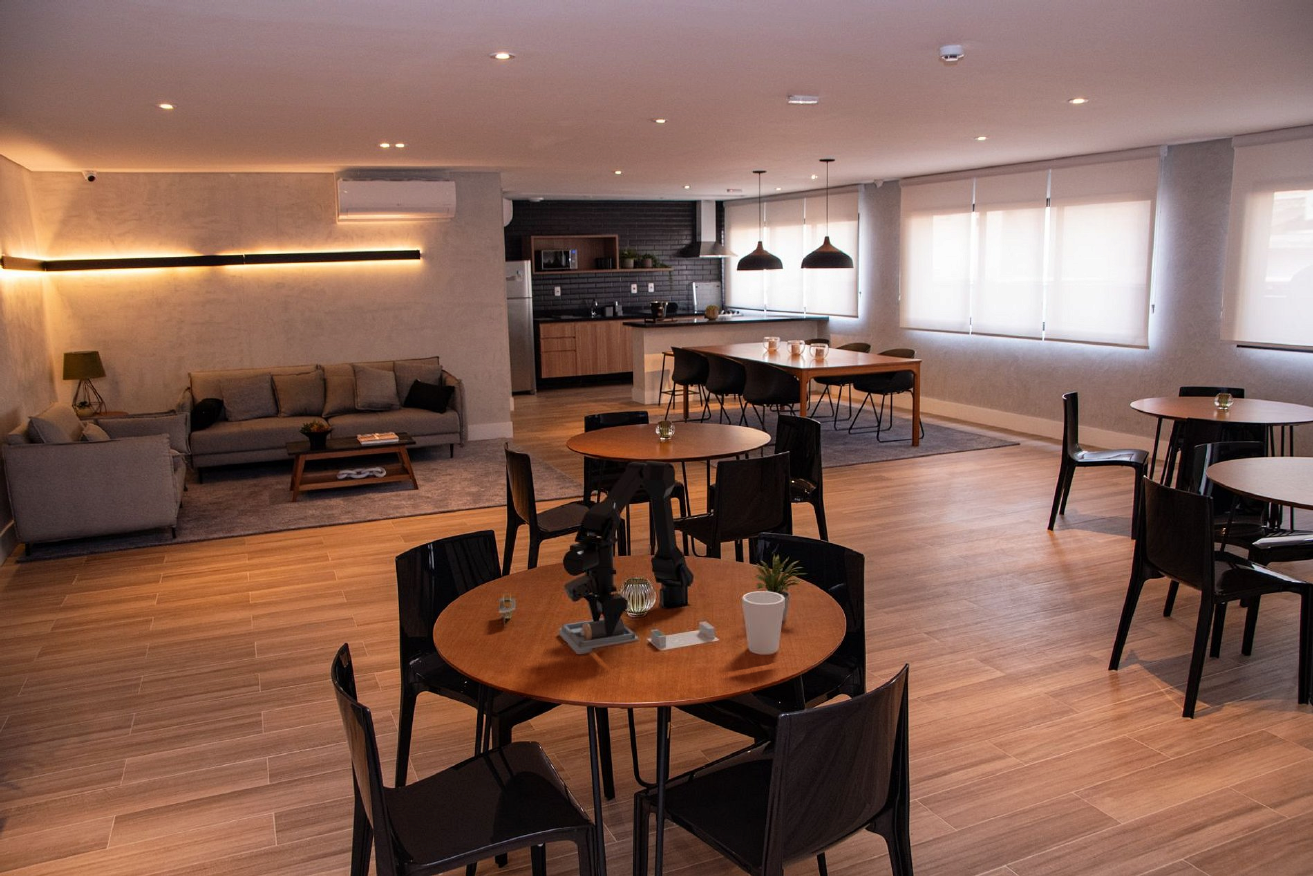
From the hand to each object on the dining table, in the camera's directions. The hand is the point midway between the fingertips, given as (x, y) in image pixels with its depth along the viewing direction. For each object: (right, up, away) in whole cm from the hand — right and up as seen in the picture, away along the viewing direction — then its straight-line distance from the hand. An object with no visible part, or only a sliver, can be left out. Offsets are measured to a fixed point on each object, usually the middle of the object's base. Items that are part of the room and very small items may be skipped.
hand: (602, 629), depth 222 cm
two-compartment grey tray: (-1, -3, +3) cm, 5 cm away
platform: (-25, -2, +17) cm, 30 cm away
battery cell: (0, -2, 0) cm, 2 cm away
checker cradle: (+19, -3, 0) cm, 19 cm away
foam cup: (+37, -4, -7) cm, 38 cm away
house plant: (+42, -1, +15) cm, 44 cm away
